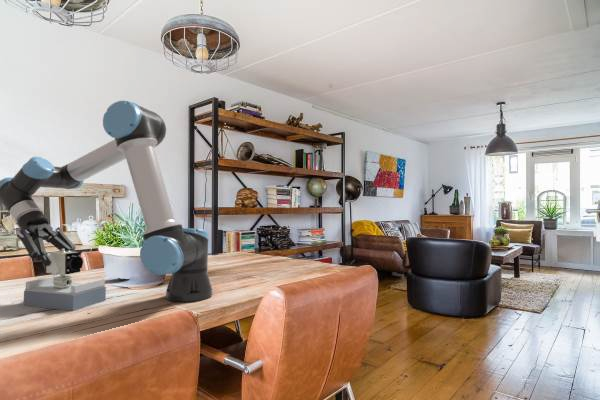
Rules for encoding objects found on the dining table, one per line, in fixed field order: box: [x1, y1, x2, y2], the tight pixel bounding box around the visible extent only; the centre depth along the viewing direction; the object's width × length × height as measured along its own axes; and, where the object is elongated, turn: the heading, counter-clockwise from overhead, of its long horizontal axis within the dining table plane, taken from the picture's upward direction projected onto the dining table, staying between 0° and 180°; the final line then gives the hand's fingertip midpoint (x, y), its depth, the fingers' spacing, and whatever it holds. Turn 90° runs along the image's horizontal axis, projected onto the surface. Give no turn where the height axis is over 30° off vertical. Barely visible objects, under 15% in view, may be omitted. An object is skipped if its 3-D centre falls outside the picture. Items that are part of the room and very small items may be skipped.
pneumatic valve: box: [41, 249, 84, 289], centre depth 113 cm, size 6×12×12 cm, turn 73°
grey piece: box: [23, 274, 107, 312], centre depth 114 cm, size 22×12×7 cm, turn 75°
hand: (67, 270), depth 113 cm, fingers open, 7 cm apart
